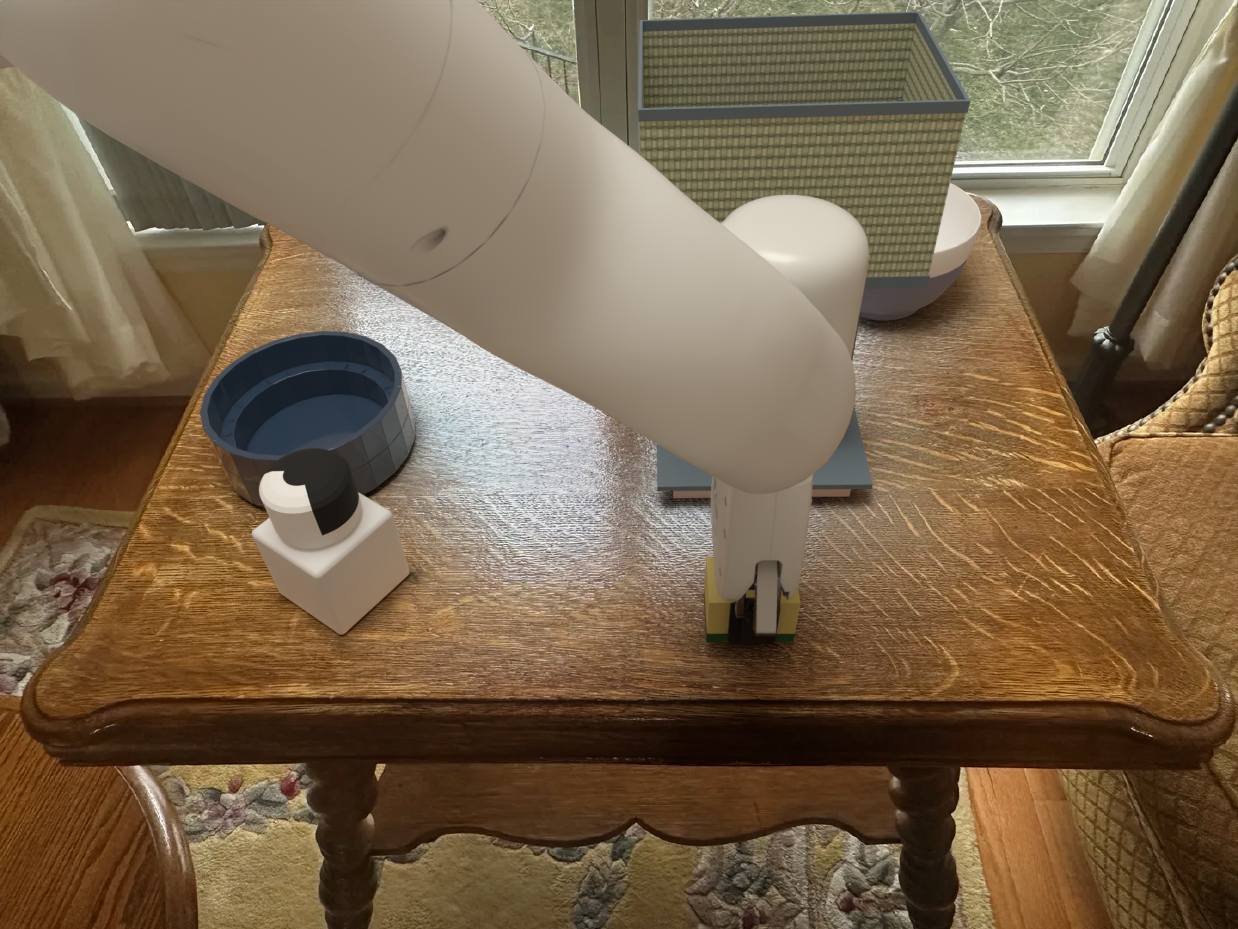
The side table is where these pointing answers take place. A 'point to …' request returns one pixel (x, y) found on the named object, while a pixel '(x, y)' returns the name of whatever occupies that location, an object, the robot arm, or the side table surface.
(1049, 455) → the side table surface
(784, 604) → the sponge
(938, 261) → the bowl
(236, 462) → the bowl
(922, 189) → the desk lamp
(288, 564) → the medicine bottle
